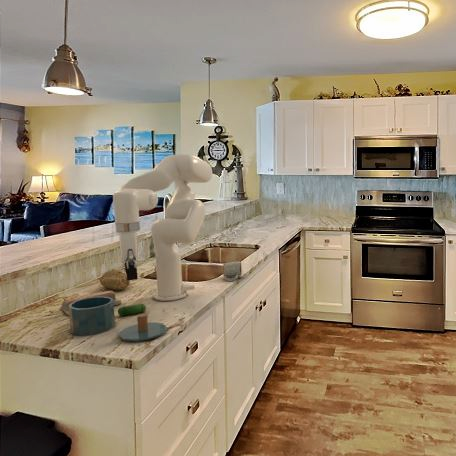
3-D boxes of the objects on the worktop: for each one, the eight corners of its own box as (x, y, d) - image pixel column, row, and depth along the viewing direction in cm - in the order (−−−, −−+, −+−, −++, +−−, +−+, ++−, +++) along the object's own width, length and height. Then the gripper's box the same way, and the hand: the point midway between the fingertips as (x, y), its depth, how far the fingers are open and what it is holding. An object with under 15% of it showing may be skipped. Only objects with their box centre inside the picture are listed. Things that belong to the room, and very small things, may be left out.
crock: (114, 318, 143) (112, 294, 141) (115, 330, 132) (113, 305, 130) (72, 324, 137) (70, 299, 136) (69, 338, 126) (67, 311, 125)
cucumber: (145, 310, 150) (145, 302, 150) (146, 313, 147) (146, 304, 147) (117, 314, 146) (117, 306, 146) (118, 317, 143) (117, 308, 143)
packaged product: (67, 303, 143) (59, 297, 150) (68, 316, 144) (60, 309, 151) (120, 292, 156) (111, 286, 163) (121, 304, 157) (112, 298, 164)
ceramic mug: (224, 275, 198) (224, 260, 197) (242, 275, 199) (241, 259, 198) (221, 282, 188) (221, 265, 187) (240, 281, 189) (239, 265, 187)
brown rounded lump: (103, 285, 187) (91, 288, 168) (106, 267, 188) (95, 269, 169) (134, 288, 190) (126, 291, 171) (137, 271, 191) (129, 273, 172)
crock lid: (163, 323, 138) (162, 305, 137) (169, 337, 126) (168, 318, 125) (118, 330, 132) (117, 311, 131) (120, 346, 120) (118, 326, 119)
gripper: (114, 224, 145) (118, 271, 148) (116, 231, 130) (120, 284, 133) (137, 223, 149) (141, 269, 151) (142, 230, 134) (145, 281, 136)
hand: (131, 276), depth 142 cm, fingers open, 9 cm apart
